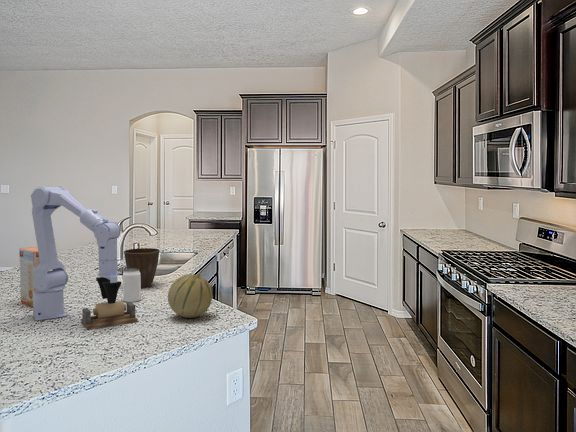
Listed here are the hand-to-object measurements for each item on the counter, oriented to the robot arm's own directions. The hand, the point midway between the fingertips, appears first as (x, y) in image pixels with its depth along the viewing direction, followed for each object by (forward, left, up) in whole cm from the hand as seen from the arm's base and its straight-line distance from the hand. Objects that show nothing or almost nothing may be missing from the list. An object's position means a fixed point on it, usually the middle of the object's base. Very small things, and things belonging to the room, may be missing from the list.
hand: (108, 300), depth 158 cm
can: (+15, +25, -7) cm, 30 cm away
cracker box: (-17, +39, -7) cm, 44 cm away
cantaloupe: (+25, -9, -7) cm, 27 cm away
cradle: (0, 0, -7) cm, 7 cm away
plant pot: (+26, +48, -7) cm, 55 cm away
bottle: (0, 0, -6) cm, 6 cm away
